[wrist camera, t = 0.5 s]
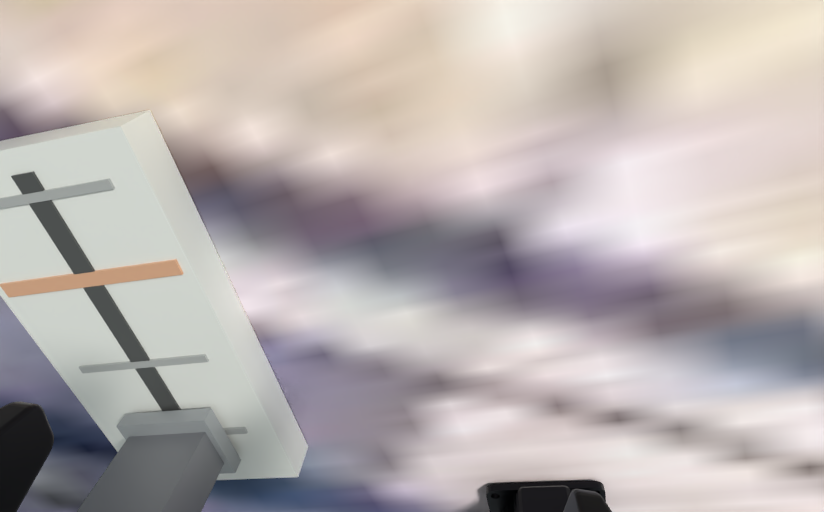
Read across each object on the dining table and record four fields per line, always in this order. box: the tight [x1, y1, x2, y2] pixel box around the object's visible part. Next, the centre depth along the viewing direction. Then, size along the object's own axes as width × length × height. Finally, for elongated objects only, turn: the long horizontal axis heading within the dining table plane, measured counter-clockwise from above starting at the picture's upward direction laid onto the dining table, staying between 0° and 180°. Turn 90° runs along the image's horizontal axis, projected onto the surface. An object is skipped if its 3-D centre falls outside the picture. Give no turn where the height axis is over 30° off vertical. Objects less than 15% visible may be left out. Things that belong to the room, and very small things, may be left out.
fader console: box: [0, 110, 308, 480], centre depth 26 cm, size 20×10×2 cm, turn 12°
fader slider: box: [77, 408, 241, 512], centre depth 25 cm, size 4×5×6 cm
